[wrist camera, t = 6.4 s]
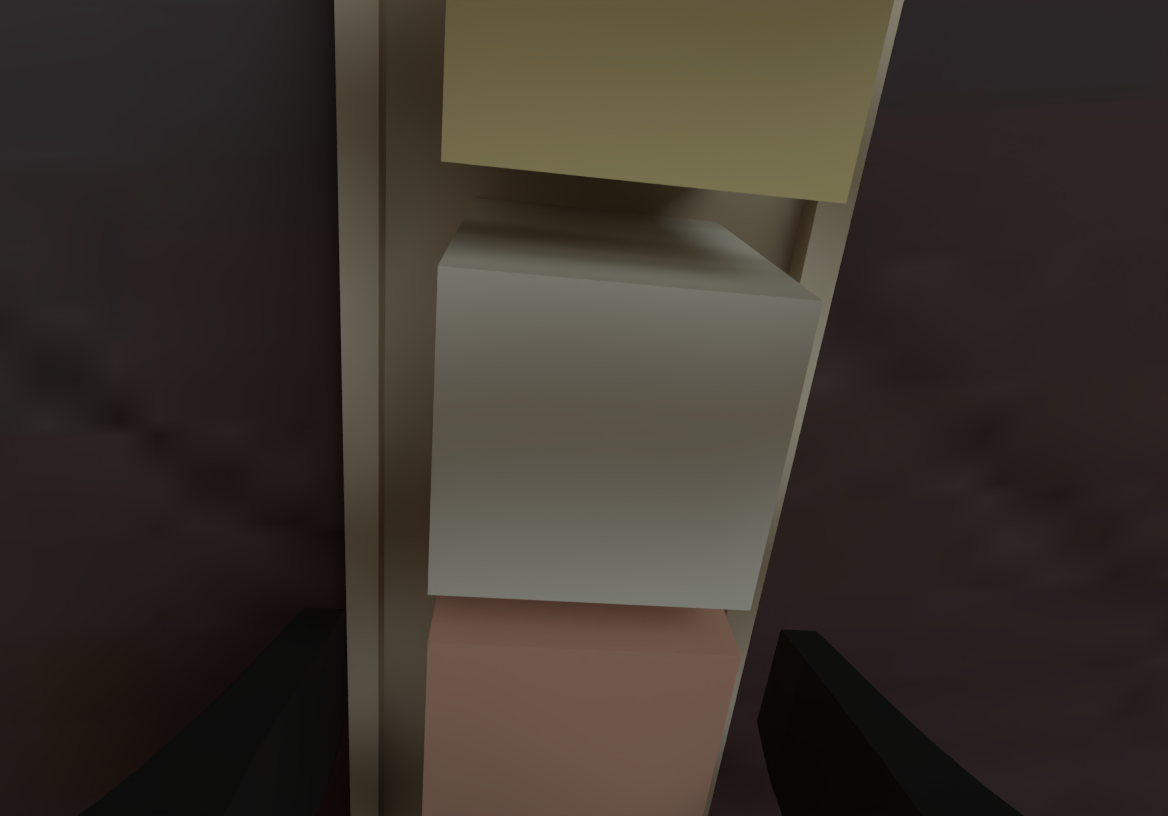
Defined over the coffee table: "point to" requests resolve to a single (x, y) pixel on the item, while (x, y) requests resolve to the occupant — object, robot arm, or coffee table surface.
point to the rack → (578, 309)
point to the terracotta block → (573, 707)
